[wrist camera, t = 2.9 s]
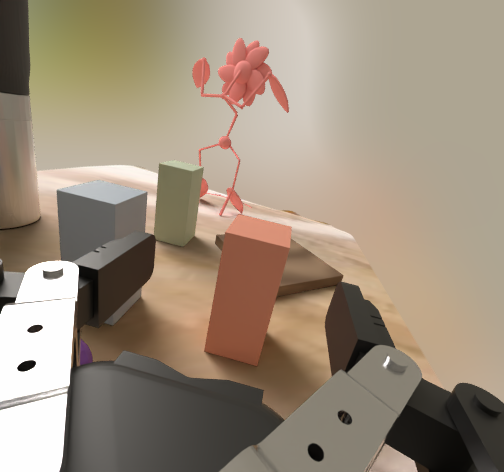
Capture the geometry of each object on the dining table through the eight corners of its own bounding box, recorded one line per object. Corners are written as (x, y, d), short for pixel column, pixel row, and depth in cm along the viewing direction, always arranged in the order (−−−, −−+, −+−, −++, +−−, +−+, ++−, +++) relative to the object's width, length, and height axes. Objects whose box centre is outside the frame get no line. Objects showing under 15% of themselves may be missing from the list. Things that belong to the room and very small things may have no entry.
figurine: (249, 229, 56) (294, 26, 44) (162, 193, 68) (179, 23, 56) (282, 218, 69) (324, 58, 57) (204, 189, 80) (225, 50, 68)
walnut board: (215, 243, 47) (216, 234, 47) (279, 239, 55) (281, 232, 54) (266, 298, 35) (268, 288, 35) (340, 284, 43) (343, 275, 42)
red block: (257, 366, 25) (289, 248, 21) (204, 351, 26) (225, 232, 21) (263, 329, 30) (291, 227, 25) (218, 317, 30) (238, 214, 26)
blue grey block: (113, 325, 26) (115, 204, 22) (64, 311, 27) (56, 189, 22) (141, 296, 31) (147, 191, 26) (99, 285, 31) (98, 179, 27)
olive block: (183, 246, 44) (192, 171, 39) (153, 239, 44) (159, 163, 40) (194, 236, 48) (203, 167, 44) (167, 229, 49) (173, 160, 44)
